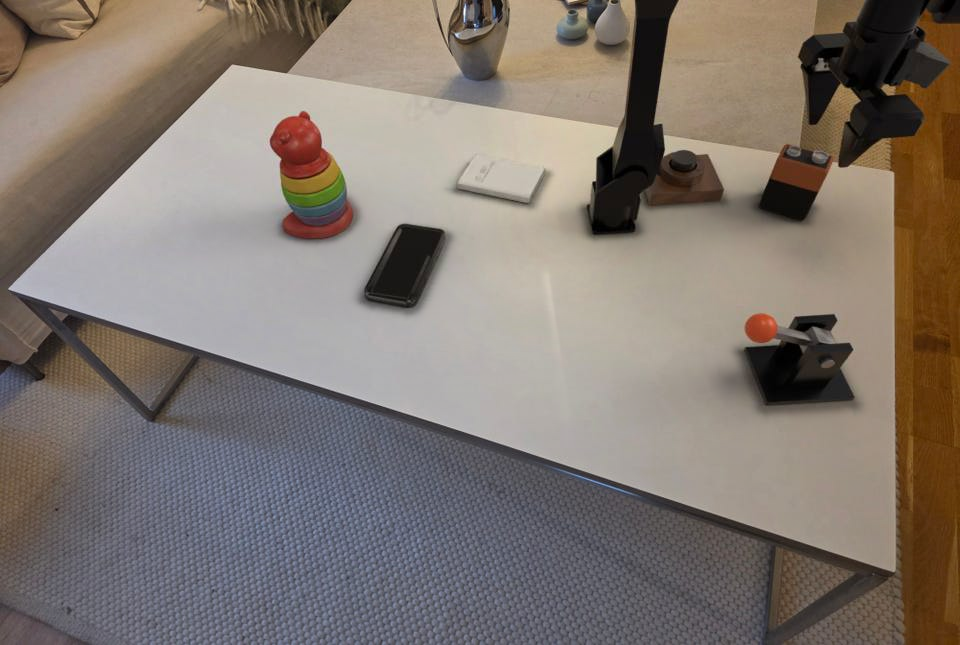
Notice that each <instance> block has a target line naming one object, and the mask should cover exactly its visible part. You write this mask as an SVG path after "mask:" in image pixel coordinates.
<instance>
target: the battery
mask: <svg viewBox="0 0 960 645" xmlns="http://www.w3.org/2000/svg"><path fill="white" fill-rule="evenodd" d="M834 161H835V157H834V155H831V154H829V153H827V152H826V151H824V150H813V149H808V148H805V147H800V146H798V145H793V144H790V143H786V144H784V145H783V146H782V149H781V151H780V152H779V154H778V156H777V158H776V160H775V162H774V166H773V168H772V170H771V173H770V176H769V177H768V180H767V182H766V186H765V187H764V190H763V193H762V195H761V198H760V200H759V203H758V208H760V209H763V210H766V211H769V212H772V213H776V214H778V215H781V216H785V217H788V218H791V219H795V220H798V221H805V220H806V219H807V217H808V215H809V213H810V211H811V209H812V206H813V204H814V202H815V200H816V199H817V196H818V194H819V192H820V190H821V188H822V186H823V184H824V182H825V180H826V178H827V177H828V174H829V172H830V169H831V167H832V166H833V164H834Z"/></svg>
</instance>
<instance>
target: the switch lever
mask: <svg viewBox="0 0 960 645" xmlns="http://www.w3.org/2000/svg"><path fill="white" fill-rule="evenodd" d="M744 333H745V335H746V337H747V338H748V340H750V341H752V342H753V343H756V344H766V343H769V342H771V341H772V340H773V339H775V340H779V341H781V340H782V341H786V342H790V343H794V344H798V345H799V346H800V348H801V350H802V352H803V353H804V352H805V350H806V348H807V347H808V345H821V344H836V343H838V342H837V341H836V338H835V337H834V335H833V333H832V330H831V331H828V330H824V329H821V328H817V327H813V326H812V327H811V328H809V329H808V330H807V331H805V332H800V331H797V330H793V329H789V327H785V326H781V325H778V323H777V321H776V320H775V318H774V317H773V316H771V315H770V314H767V313H764V312H763V313H762V312H761V313H755V314H753V315H750V317H749V318H747V320H746V321H745V324H744Z"/></svg>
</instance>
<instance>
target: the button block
mask: <svg viewBox="0 0 960 645" xmlns="http://www.w3.org/2000/svg"><path fill="white" fill-rule="evenodd" d="M675 152H676V151H671V152H670V153H668V154H666V155H664V156H663V159H662V161H661V174H662V175H661V176H658V175H656V179H655V181H654V183H653V185H652V186H651V187H648V188H647V189H645V190H644V193H645V197H646V199H647V202H648V206H663V205H664V206H665V205H677V204H690V203H691V204H692V203H693V204H694V203H705V202H719V201H721V200H722V198H723V195H724V192H725V188H724V186H723V184H722V182H721V180H720V177H719V175H718V173H717V171H716V169H715V167H714V165H713V162H712V160H711V158H710V155H709V153H702V154H696V156H697V161H696V164H695V168H694V170H693V171H692V172H687V173H681V172H677V171H675V170H673V169H672V168H671V161H672V157H673V154H674V153H675Z"/></svg>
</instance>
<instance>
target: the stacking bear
mask: <svg viewBox="0 0 960 645" xmlns="http://www.w3.org/2000/svg"><path fill="white" fill-rule="evenodd" d="M322 145H323V139H322V134H321V131H320V129H319V127H318V126H317V125H316V124H315V123H314V122H313V121H312V120H311V116H310V114H309V113H308V112H307V111H305V110H302V111H300V112H299V114H298V115H291V116H287V117H285V118H283V119H281V121H280V122H278V124H276V126H275V128H274V130H273V132H272V134H271V136H270V138H269V146H270V148H271V150H272V151H273V153H274V154H275V155H276V156H277V157H278V158H280V161H279V177H280V187H281V191H282V195H283V197H284V199H285V201H286V203H287V205H288V206H289V208H290V209H291V212H289V213H287V215H286V216H285V217H284V218H283V219H282V223H281V224H282V229H283V231H284V232H285V233H286V234H289V235H291V236H293V237H296V238H302V239H323V238H324V239H325V238H328V237H329V238H330V237H333V236H335V235H338V234H340V233H341V232H343V231H345V230H346V229H347V228H348V227H349V226H350V224H351V223H352V221H353V218H354V209H353V207H352V205H351V203H350V202H349V201H348V190H347V182H346V178H345V177H344V176H345V175H344V174H343V172H342V169H341V168H340V166H339V165H338V162H337V161H336V159H335V157H333V155H332V154H331V153H330V152H329V151H327V150H326V149H325V148H324V147H323V146H322Z"/></svg>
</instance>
